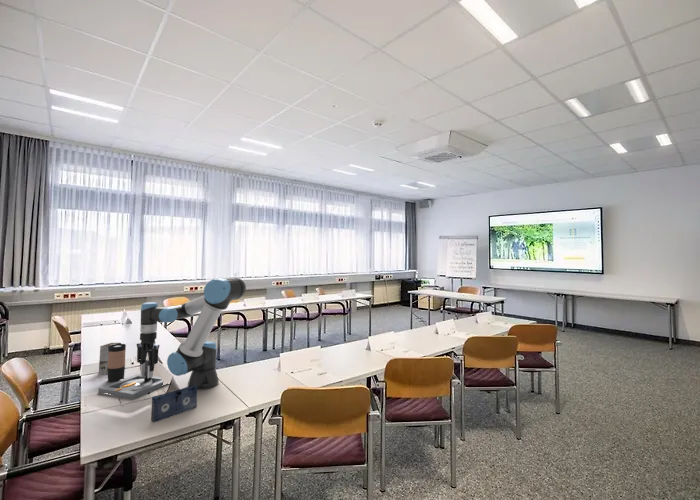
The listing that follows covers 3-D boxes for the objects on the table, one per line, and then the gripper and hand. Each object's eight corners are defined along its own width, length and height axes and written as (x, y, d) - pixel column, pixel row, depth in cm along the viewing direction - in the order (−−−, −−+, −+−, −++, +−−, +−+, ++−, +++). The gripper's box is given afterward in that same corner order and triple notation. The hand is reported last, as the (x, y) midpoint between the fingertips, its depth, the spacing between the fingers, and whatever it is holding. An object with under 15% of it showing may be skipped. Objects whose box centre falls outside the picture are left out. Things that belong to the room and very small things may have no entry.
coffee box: (109, 374, 190) (110, 346, 190) (98, 374, 190) (99, 346, 190) (120, 369, 199) (121, 342, 199) (110, 368, 199) (111, 342, 199)
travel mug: (104, 383, 176) (105, 346, 176) (119, 379, 182) (121, 343, 183) (111, 386, 172) (113, 348, 173) (127, 381, 179) (128, 344, 180)
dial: (143, 380, 177) (144, 357, 177) (158, 385, 169) (159, 361, 170) (114, 388, 165) (115, 364, 165) (128, 394, 157) (129, 369, 158)
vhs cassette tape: (194, 406, 151) (195, 384, 151) (197, 408, 149) (198, 386, 149) (150, 420, 137) (151, 396, 137) (153, 423, 135) (154, 398, 135)
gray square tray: (170, 385, 174) (171, 377, 175) (133, 402, 153) (133, 393, 153) (138, 380, 180) (138, 372, 181) (98, 396, 159) (98, 387, 159)
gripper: (129, 332, 172) (127, 377, 171) (154, 334, 166) (152, 381, 165) (142, 329, 179) (141, 372, 178) (167, 331, 174) (165, 376, 172)
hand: (146, 376), depth 172 cm, fingers open, 4 cm apart
